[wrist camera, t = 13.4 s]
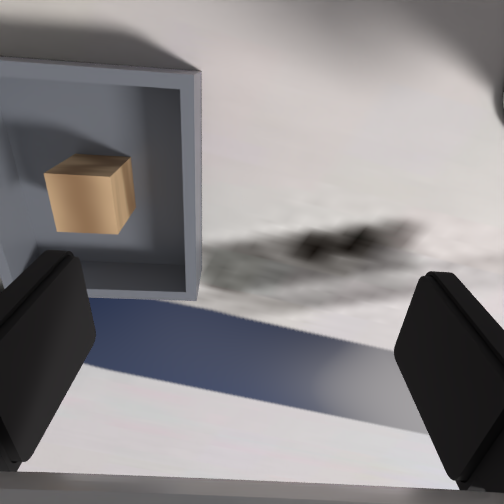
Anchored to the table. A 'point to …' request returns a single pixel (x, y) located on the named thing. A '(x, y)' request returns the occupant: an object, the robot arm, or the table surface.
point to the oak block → (91, 193)
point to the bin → (109, 144)
